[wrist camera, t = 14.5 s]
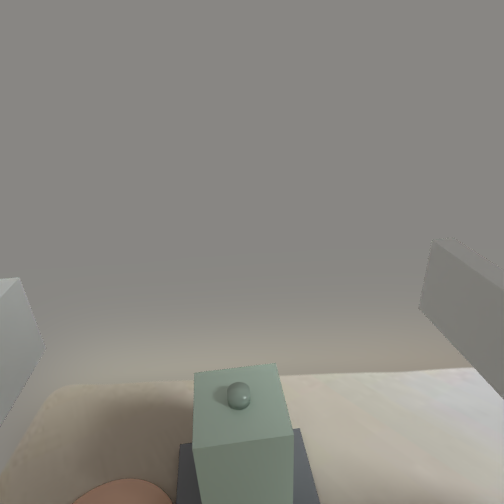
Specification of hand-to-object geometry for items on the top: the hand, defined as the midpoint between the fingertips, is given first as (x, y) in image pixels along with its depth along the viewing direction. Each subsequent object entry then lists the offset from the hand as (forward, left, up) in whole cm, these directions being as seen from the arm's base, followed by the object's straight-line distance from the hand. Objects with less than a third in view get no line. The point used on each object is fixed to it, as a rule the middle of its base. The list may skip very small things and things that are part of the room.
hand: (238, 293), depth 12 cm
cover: (0, -13, -31) cm, 34 cm away
